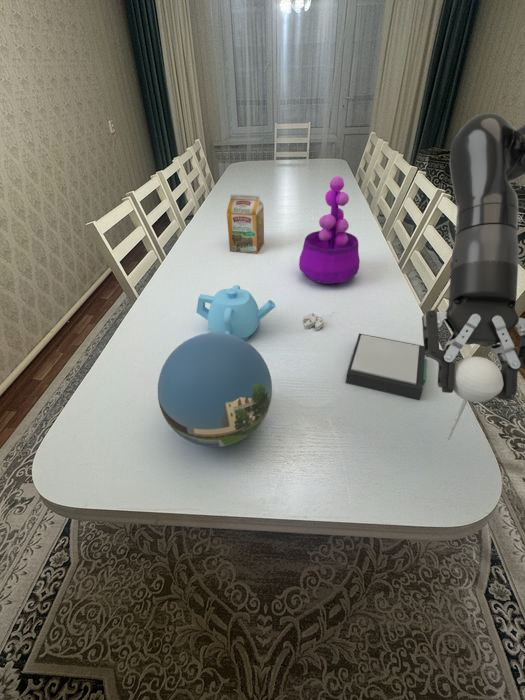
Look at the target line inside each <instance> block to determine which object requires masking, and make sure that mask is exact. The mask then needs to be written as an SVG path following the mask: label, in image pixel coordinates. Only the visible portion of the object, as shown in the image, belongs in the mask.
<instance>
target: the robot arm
mask: <svg viewBox="0 0 525 700" xmlns="http://www.w3.org/2000/svg"><path fill="white" fill-rule="evenodd" d="M449 172H450V179H451V184H452V190H453V196H454V199H455V203H456V208H457V212H456V222H455V224H456V225H455V237H454V242H453V243H454V244H453V248H452V252H451V261H450V267H449V268H450V277H449V279H450V280H449V293H448V307H447V309H446V310H445V311H436V310H434V309H430V310H428V311H427V312H425V314H423V315H422V316H421V325H422V338H423V339H422V340H423V346H424V354H425V358H429V359H432V360H434V361H436V362H437V365H438V369H437V387H438V388H441V392H442V393H445V394H452V393H454V391H453V387H454V372H455V363H453V362H454V360H455V359H456V357H457V355H458V354H459V353H460V350H461V349H463V347H465V345H477V346H482V347H489V349H490V351H491V353H492V354H493V355H494V357H495V358H496V361H497V362H498V364H499V366H500V368H501V369H499V370H500V371H501V374H502V378H503V382H504V385H503V388H502V391H501V392H500V393H499V394H497V395H496V397H497V399H498V400H506V401H507V400H508V401H509V400H511V399H512V398H513V396H516V394H517V392H518V391H517V390H518V375H519V374H518V373H519V370H520V369H522V368H525V318H524V317H519V314H518V313H517V310H516V303H517V295H518V294H517V293H518V276H519V275H518V274H519V256H520V255H519V252H520V251H519V250H520V248H519V247H520V245H519V240H518V224H519V197H518V194H517V192H516V191H515V189H514V187H513V186H512V185H511V183H512V182H514V181H516V180H518V179H520V178H521V177H523V176H524V175H525V123H524V124H523V125H521V126H520V127H519V128H516V127H515V126H514V125H513V124H512V123H511V122H510V121H509V120H508V119H506V117H504V116H502V115H501V114H499V113H496V112H483V113H480V114H477V115H475V116H473V117H471V118H470V119H469V120H467V122H465V123H464V124H463V125H462V127H461V128H459V130H458V132H457V133H456V135H455V137H454V139H453V142H452V145H451V148H450V153H449ZM443 322H445V323H446V324H447V326H448V328H449V329H450V330H451V332H452V334H451V335H450V337H449V338H448V340H447V342H445V345H444V347H443V349H440V337H439V329H440V328H441V327H442V326H443ZM515 327H516V329H517V334H518V335H519V336H520V338H519V343H518V347H517V352H516V350H515V349H516V346H515V344H514V341H513V339H512V337H511V335H510V333H511V331H512V330H513V329H514V328H515Z"/></svg>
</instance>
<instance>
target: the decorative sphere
mask: <svg viewBox="0 0 525 700" xmlns="http://www.w3.org/2000/svg"><path fill="white" fill-rule="evenodd" d="M272 397H273V383H272V376H271V373H270V370H269V367H268V365H267V363H266V361H265V359H264V358H263V356H262V355H261V353H260V352H259V351H258V350H257V349H256V348H255V347H254V346H253V345H251V343H249V342H248V341H247V340H243V339H241V338H239V337H236V336H233V335H230V334H225V333H213V332H206V333H202V334H197V335H195V336H192V337H191V338H189V339H187V340H184V341H183V342H182V343H181V344H179V345H178V346H177V347H175V349H174V350H173V351H172V352H171V353H170V354H169V355H168V357H167V358H166V360H165V362H164V364H163V366H162V368H161V370H160V373H159V377H158V382H157V400H158V405H159V409H160V411H161V413H162V416H163V418H164V419H165V422H167V425H168V426H170V428H171V429H172V430H173V431H174V432H175V433H176V434H177V435H178V436H180V437H181V438H183V439H184V440H186V441H188V442H190V443H192V444H194V445H198V446H200V447H201V446H202V447H207V448H208V447H209V448H222V447H227V446H231V445H234V444H236V443H239V442H241V441H243V440H244V439H246V438H248V437H249V436H250V435H251V434H252V433H254V432H255V431H256V430H257V429H258V428H259V427H260V425H261V424H262V423H263V421H264V419H265V418H266V416H267V413H268V411H269V409H270V406H271V402H272Z"/></svg>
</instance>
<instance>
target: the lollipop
mask: <svg viewBox="0 0 525 700" xmlns="http://www.w3.org/2000/svg"><path fill="white" fill-rule="evenodd" d="M454 364H455V372H454V387H453V393H454V394H456V396H457V397H459V398H461V399H462V402H461V405H460V406H459V409H458V411H457V413H456V416H455V417H454V420H453V422H452V425H451V427H450V429H449V431H448V433H447V436H446V439H447V440H451V437H452V435H453V433H454V431H455V429H456V427H457V425H458V422H459V420H460V418H461V416H462V413H463V411H464V409H465V407H466V405H467V403H468V402H471V403H484V402H487V401H490V400H492V399H493V398H494V397H497V394H499V393H500V392H501V391H502V388H503V385H504V382H503V378H502V374H501V371H500V370H501V369H500V368H499V367H498V365H497V364H496V363H495V362H493V361H492V360H490V359H488V358H487V357H482V356H468V357H464V358H462V359H461V360H458V361H457V362H455V363H454Z"/></svg>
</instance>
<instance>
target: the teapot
mask: <svg viewBox="0 0 525 700" xmlns="http://www.w3.org/2000/svg"><path fill="white" fill-rule="evenodd" d="M206 303H207V304H210V305H209V308H207V307H206ZM196 305H197V306H196V314H197V315H199V316H200V317H202V318H204V319H205V320H206V321H207V327H208V330H209V331H210V332H211V333H225V334H230V335H233V336H236V337H239V338H241V339H243V340H244V341H247V340H248V339H249V338H250V336H252V335H253V334H254V333H255V332H256V330H257V329H258V328H259V325H260V321H261V320H262V319H263V318H264V317H265V316H267V314H269V313H270V312H271V311H272V310H274V309H275V308H276V303H275V302H274V301H273V300H272V299H269V300H267V302H266V303H264V304H263V306H261V307H260V308H259V306H258V303H257V301H256V300H255V298H254V296H253V294H251V292H250V291H248V290H247V289H243V288H242V289H241V286H240V285H237V284H235V285H233V286H232V287H231V288H223V289H220V290H218V291H217V292H216V293H215V295H209V294H202V293H200V294H199V296H198V300H197V304H196Z"/></svg>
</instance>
